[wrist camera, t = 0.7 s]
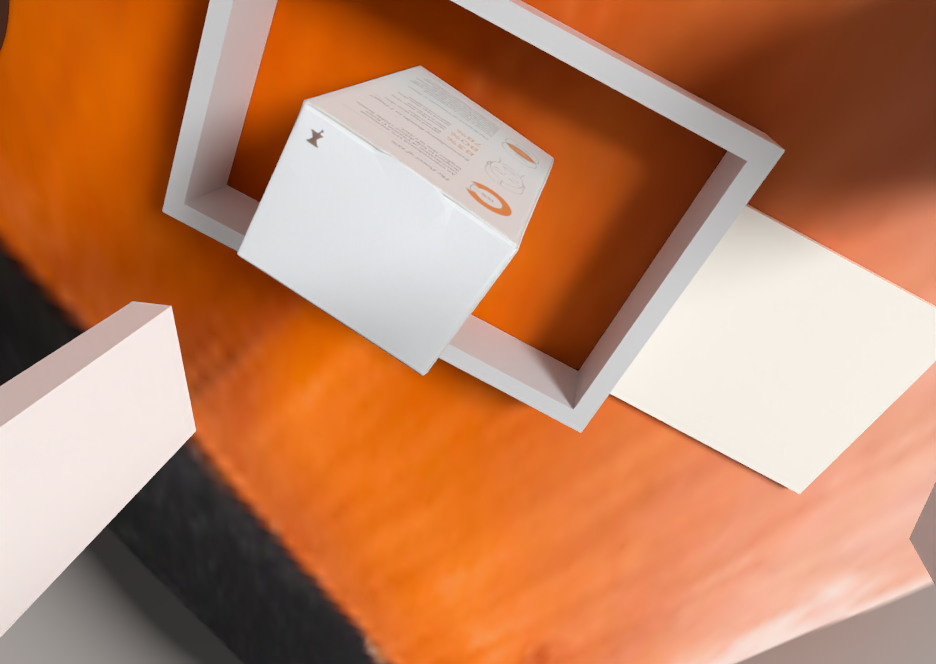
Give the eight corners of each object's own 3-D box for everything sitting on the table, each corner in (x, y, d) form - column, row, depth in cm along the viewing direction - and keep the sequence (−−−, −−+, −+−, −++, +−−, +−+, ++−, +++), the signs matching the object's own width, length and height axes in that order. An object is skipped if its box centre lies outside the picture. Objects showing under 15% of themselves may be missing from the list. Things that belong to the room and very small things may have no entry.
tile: (609, 387, 36) (609, 393, 36) (743, 202, 31) (745, 205, 30) (797, 487, 37) (799, 493, 36) (964, 321, 31) (970, 326, 30)
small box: (360, 172, 34) (228, 254, 23) (419, 61, 31) (301, 92, 20) (489, 259, 35) (423, 382, 23) (559, 158, 32) (523, 243, 20)
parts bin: (206, 191, 36) (162, 211, 33) (289, -126, 29) (242, -145, 25) (584, 392, 37) (581, 432, 33) (765, 133, 29) (785, 150, 26)
